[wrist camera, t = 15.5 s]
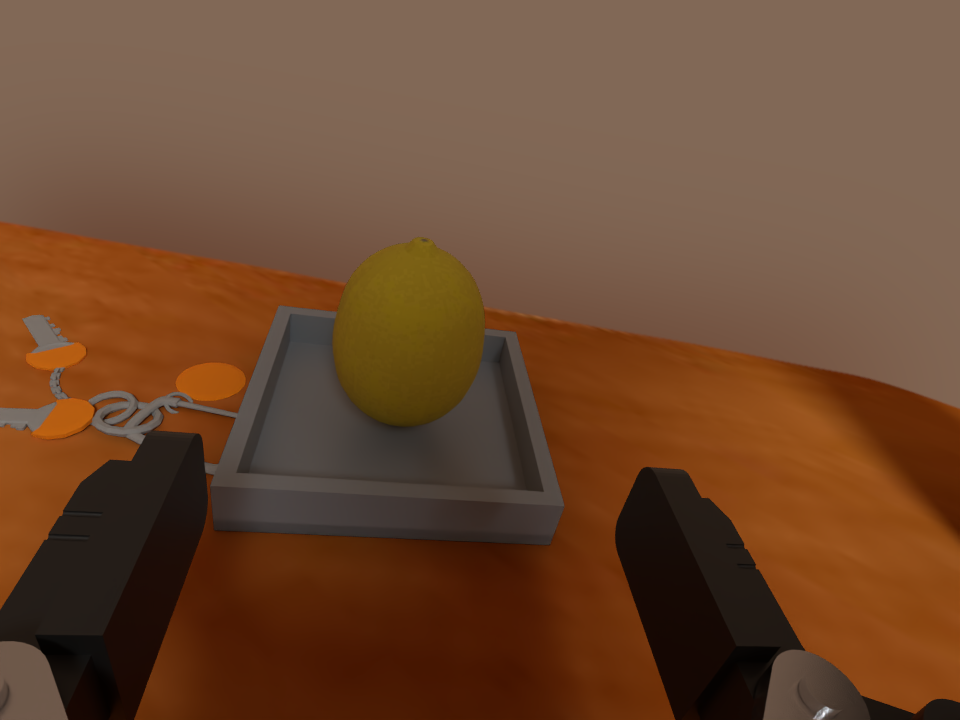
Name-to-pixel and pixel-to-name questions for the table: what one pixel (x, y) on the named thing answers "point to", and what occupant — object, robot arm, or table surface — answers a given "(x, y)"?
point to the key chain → (111, 394)
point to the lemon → (409, 334)
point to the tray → (383, 452)
